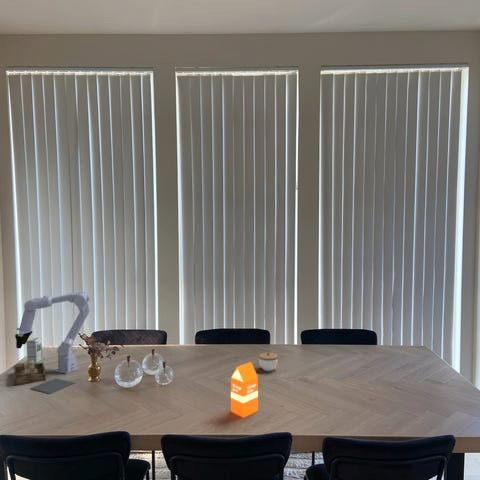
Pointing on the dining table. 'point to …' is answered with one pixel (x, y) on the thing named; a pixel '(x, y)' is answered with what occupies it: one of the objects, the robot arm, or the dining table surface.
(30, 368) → the birch block
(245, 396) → the orange juice
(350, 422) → the dining table surface
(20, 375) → the walnut crate
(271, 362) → the lidded jar
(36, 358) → the syrup box
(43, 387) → the rubber mat
